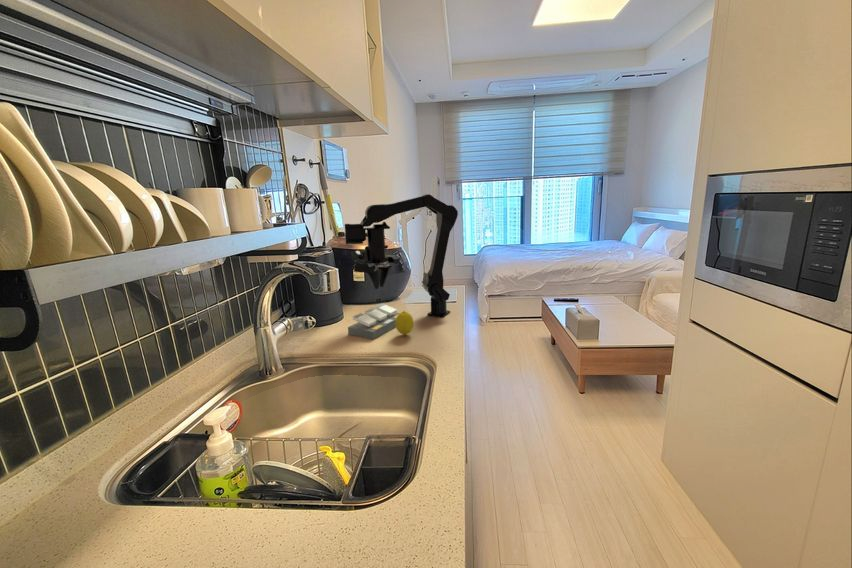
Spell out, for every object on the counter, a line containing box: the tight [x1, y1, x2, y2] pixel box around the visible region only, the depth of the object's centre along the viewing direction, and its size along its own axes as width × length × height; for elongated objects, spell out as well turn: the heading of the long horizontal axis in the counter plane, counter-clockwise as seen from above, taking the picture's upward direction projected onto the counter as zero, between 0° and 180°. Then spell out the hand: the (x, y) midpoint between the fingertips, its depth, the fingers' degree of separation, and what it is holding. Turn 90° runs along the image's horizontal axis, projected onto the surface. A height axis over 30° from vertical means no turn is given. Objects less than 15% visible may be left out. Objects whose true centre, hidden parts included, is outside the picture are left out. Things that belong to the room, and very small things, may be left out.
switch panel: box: [347, 312, 401, 340], centre depth 121 cm, size 19×10×4 cm, turn 151°
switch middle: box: [363, 307, 387, 321], centre depth 121 cm, size 4×6×1 cm, turn 61°
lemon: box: [395, 310, 414, 336], centre depth 113 cm, size 6×6×8 cm
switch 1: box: [352, 312, 376, 327], centre depth 116 cm, size 4×6×1 cm, turn 61°
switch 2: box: [374, 302, 398, 315], centre depth 126 cm, size 4×6×1 cm, turn 61°
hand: (379, 287), depth 126 cm, fingers open, 3 cm apart
